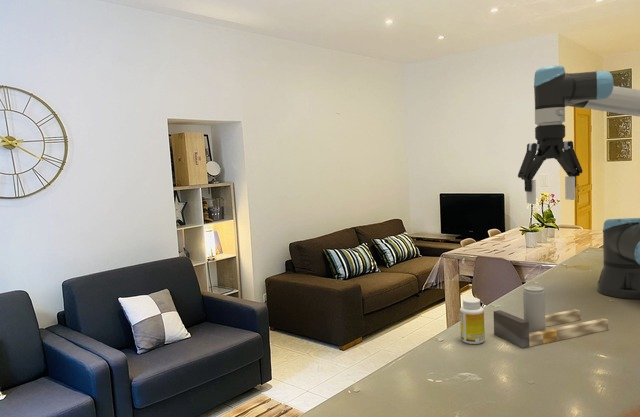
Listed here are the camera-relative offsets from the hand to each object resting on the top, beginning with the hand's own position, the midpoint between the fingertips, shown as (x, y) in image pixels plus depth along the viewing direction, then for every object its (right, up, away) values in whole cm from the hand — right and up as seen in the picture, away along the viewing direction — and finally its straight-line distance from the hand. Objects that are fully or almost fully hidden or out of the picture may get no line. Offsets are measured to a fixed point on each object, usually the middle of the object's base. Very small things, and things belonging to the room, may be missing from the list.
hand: (551, 201), depth 136 cm
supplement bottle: (-27, -34, -17) cm, 47 cm away
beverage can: (-12, -33, -16) cm, 39 cm away
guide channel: (-6, -33, -14) cm, 36 cm away
